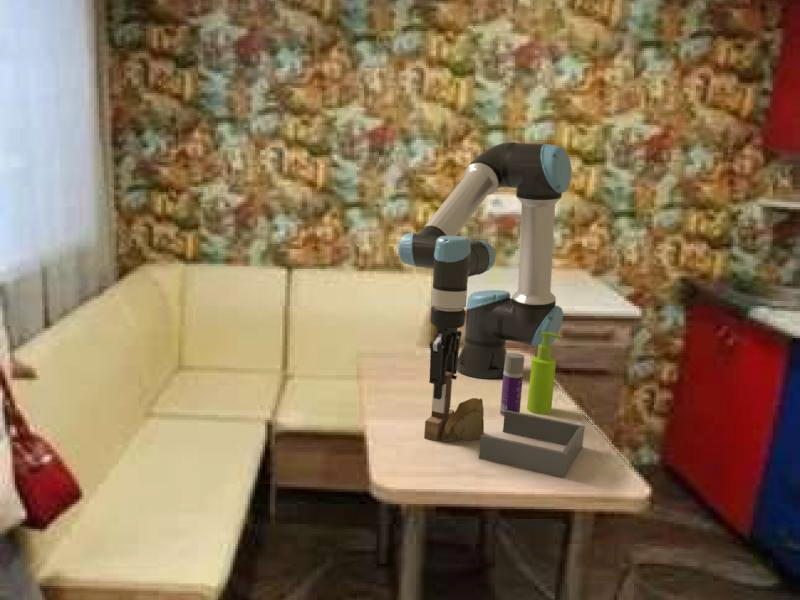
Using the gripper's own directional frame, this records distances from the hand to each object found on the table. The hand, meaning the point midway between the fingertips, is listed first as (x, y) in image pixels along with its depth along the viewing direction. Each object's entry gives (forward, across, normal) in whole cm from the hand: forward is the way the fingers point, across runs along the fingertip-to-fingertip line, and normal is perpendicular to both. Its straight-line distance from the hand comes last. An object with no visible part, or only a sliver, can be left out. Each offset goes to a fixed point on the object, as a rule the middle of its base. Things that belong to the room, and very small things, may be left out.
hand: (441, 408), depth 177 cm
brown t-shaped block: (+6, 0, 0) cm, 6 cm away
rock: (+6, 0, +6) cm, 8 cm away
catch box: (+6, 0, +22) cm, 22 cm away
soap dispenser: (+6, -27, +16) cm, 32 cm away
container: (+6, -20, +10) cm, 23 cm away
